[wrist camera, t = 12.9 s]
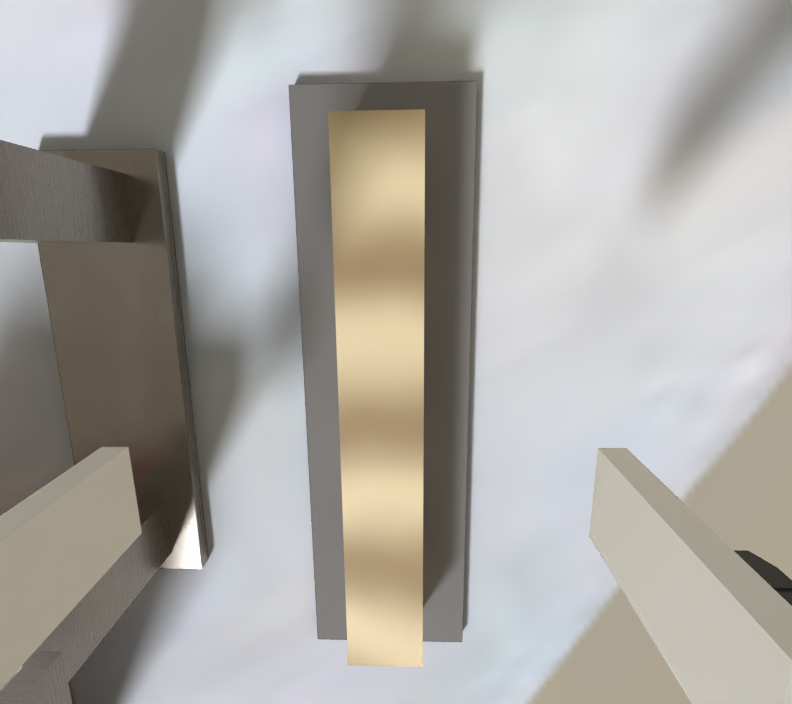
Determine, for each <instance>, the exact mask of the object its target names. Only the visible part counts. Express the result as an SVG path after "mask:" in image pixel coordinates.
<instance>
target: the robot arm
mask: <svg viewBox="0 0 792 704" xmlns="http://www.w3.org/2000/svg"><path fill="white" fill-rule="evenodd" d="M141 533H142V531H141V524H140V518H139V512H138V505H137V499H136V493H135V486H134V480H133V473H132V467H131V461H130V454H129V448H128V447H101V448H99V449H98V450H96V451H95V452H94V453H92V454H91V455H89V456H88V457H86V458H85V459H83V460H82V461H80V462H79V463H77V464H76V465H74V466H73V467H71V468H70V469H68V470H67V471H66V472H64V473H63V474H61V475H60V476H58V477H57V478H55V479H54V480H52V481H51V482H49V483H48V484H46V485H45V486H43V487H42V488H40V489H39V490H37V491H36V492H35V493H33V494H32V495H30V496H29V497H27V498H26V499H24V500H23V501H21V502H20V503H18V504H17V505H15V506H14V507H12V508H11V509H9V510H8V511H7V512H5V513H4V514H2V515H1V516H0V689H1V688H2V687H3V686H4V685H5V683H6V682H7V681H8V680H9V679H10V678H11V677H12V676H13V675H14V674H15V672H16V671H17V670H18V669H19V668H20V667H21V666H22V665H23V664H24V662H25V661H26V660H27V659H28V658H29V657H30V656H31V655H32V654H33V653H34V651H35V650H36V649H37V648H38V647H39V646H40V645H41V644H42V643H43V641H44V640H45V639H46V638H47V637H48V636H49V635H50V634H51V633H52V632H53V630H54V629H55V628H56V627H57V626H58V625H59V624H60V623H61V622H62V621H63V619H64V618H65V617H66V616H67V615H68V614H69V613H70V612H71V611H72V609H73V608H74V607H75V606H76V605H77V604H78V603H79V602H80V601H81V600H82V598H83V597H84V596H85V595H86V594H87V593H88V592H89V591H90V590H91V588H92V587H93V586H94V585H95V584H96V583H97V582H98V581H99V580H100V579H101V577H102V576H103V575H104V574H105V573H106V572H107V571H108V570H109V569H110V568H111V566H112V565H113V564H114V563H115V562H116V561H117V560H118V559H119V558H120V556H121V555H122V554H123V553H124V552H125V551H126V550H127V549H128V548H129V547H130V545H131V544H132V543H133V542H134V541H135V540H136V539H137V538H138V537H139V536H140V534H141ZM589 537H590V538H591V540H592V542H593V543H594V545H595V546H596V548H597V550H598V551H599V553H600V555H601V556H602V558H603V559H604V561H605V563H606V564H607V566H608V568H609V569H610V571H611V573H612V574H613V576H614V577H615V579H616V581H617V582H618V584H619V586H620V587H621V589H622V591H623V592H624V594H625V595H626V597H627V599H628V600H629V602H630V604H631V605H632V607H633V608H634V610H635V612H636V613H637V615H638V617H639V618H640V620H641V622H642V623H643V625H644V626H645V628H646V630H647V631H648V633H649V635H650V636H651V638H652V640H653V641H654V643H655V644H656V646H657V647H658V649H659V651H660V653H661V654H662V656H663V657H664V659H665V661H666V662H667V664H668V666H669V667H670V669H671V671H672V672H673V674H674V675H675V677H676V679H677V680H678V682H679V684H680V685H681V687H682V689H683V690H684V692H685V693H686V695H687V697H688V698H689V700H690V701H691V703H692V704H792V580H791V579H789V578H788V577H787V576H786V575H785V574H784V573H783V572H782V571H780V570H779V569H778V568H777V567H775V566H773V565H772V564H770V563H768V562H767V561H765V560H763V559H761V558H760V557H758V556H756V555H755V554H753V553H751V552H749V551H734V550H732V549H731V548H730V547H729V546H728V545H727V544H726V543H725V542H724V541H723V540H722V539H721V538H720V537H719V536H718V535H717V534H716V533H715V532H714V531H713V530H712V529H710V528H709V527H708V526H707V525H706V524H705V523H704V522H703V521H702V520H701V519H700V518H699V517H698V516H697V515H696V514H695V513H694V512H693V511H692V510H691V509H689V508H688V507H687V506H686V505H685V504H684V503H683V502H682V501H681V500H680V499H679V498H678V497H677V496H676V495H675V494H674V493H673V492H672V491H671V490H670V489H669V488H668V487H666V486H665V485H664V484H663V483H662V482H661V481H660V480H659V479H658V478H657V477H656V476H655V475H654V474H653V473H652V472H651V471H650V470H649V469H648V468H647V467H646V466H644V465H643V464H642V463H641V462H640V461H639V460H638V459H637V458H636V457H635V456H634V455H633V454H632V453H631V452H630V451H629V450H628V449H627V448H598V455H597V465H596V475H595V485H594V494H593V504H592V514H591V524H590V534H589Z"/></svg>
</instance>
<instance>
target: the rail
mask: <svg viewBox="0 0 792 704" xmlns="http://www.w3.org/2000/svg"><path fill="white" fill-rule="evenodd" d="M328 125H329V153H330V180H331V208H332V236H333V263H334V291H335V318H336V346H337V373H338V401H339V429H340V456H341V484H342V511H343V539H344V566H345V594H346V622H347V649H348V665H355V666H401V667H422V664H423V456H424V249H425V109H419V110H366V111H328Z"/></svg>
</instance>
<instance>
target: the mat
mask: <svg viewBox="0 0 792 704" xmlns="http://www.w3.org/2000/svg"><path fill="white" fill-rule="evenodd" d="M289 101H290V120H291V139H292V158H293V177H294V197H295V216H296V235H297V254H298V273H299V292H300V311H301V330H302V349H303V369H304V388H305V407H306V426H307V445H308V464H309V483H310V502H311V521H312V541H313V560H314V579H315V598H316V617H317V636H318V639H331V640H347V622H346V594H345V566H344V539H343V511H342V484H341V456H340V429H339V401H338V373H337V346H336V318H335V291H334V263H333V236H332V208H331V180H330V153H329V125H328V111H366V110H419V109H425V249H424V456H423V641H430V642H462V634H463V597H464V559H465V521H466V483H467V445H468V408H469V370H470V332H471V294H472V256H473V218H474V181H475V143H476V105H477V81H451V82H403V83H355V84H306V85H289Z"/></svg>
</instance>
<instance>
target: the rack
mask: <svg viewBox="0 0 792 704" xmlns="http://www.w3.org/2000/svg"><path fill="white" fill-rule="evenodd" d="M0 242H26V243H38V249H39V255H40V261H41V267H42V273H43V279H44V284H45V290H46V296H47V302H48V308H49V314H50V320H51V326H52V332H53V338H54V344H55V350H56V356H57V362H58V368H59V373H60V379H61V385H62V391H63V397H64V403H65V409H66V415H67V421H68V427H69V433H70V439H71V445H72V451H73V457H74V463H75V465H76V464H77V463H79V462H80V461H82V460H83V459H85V458H86V457H88V456H89V455H91V454H92V453H94V452H95V451H96V450H98V449H99V448H101V447H128V448H129V454H130V461H131V467H132V473H133V480H134V486H135V493H136V499H137V505H138V512H139V518H140V524H141V531H142V533H141V534H140V536H139V537H138V538H137V539H136V540H135V541H134V542H133V543H132V544H131V545H130V547H129V548H128V549H127V550H126V551H125V552H124V553H123V554H122V555H121V556H120V558H119V559H118V560H117V561H116V562H115V563H114V564H113V565H112V566H111V568H110V569H109V570H108V571H107V572H106V573H105V574H104V575H103V576H102V577H101V579H100V580H99V581H98V582H97V583H96V584H95V585H94V586H93V587H92V588H91V590H90V591H89V592H88V593H87V594H86V595H85V596H84V597H83V598H82V600H81V601H80V602H79V603H78V604H77V605H76V606H75V607H74V608H73V609H72V611H71V612H70V613H69V614H68V615H67V616H66V617H65V618H64V619H63V621H62V622H61V623H60V624H59V625H58V626H57V627H56V628H55V629H54V630H53V632H52V633H51V634H50V635H49V636H48V637H47V638H46V639H45V640H44V641H43V643H42V644H41V645H40V646H39V647H38V648H37V649H36V650H35V651H34V653H33V654H32V655H31V656H30V657H29V658H28V659H27V660H26V661H25V662H24V664H23V665H22V666H21V667H20V668H19V669H18V670H17V671H16V672H15V674H14V675H13V676H12V677H11V678H10V679H9V680H8V681H7V682H6V683H5V685H4V686H3V687H2V688H1V689H0V704H72V699H71V694H70V688H69V683H68V682H69V681H70V680H71V679H72V677H73V676H74V675H75V674H76V672H77V671H78V670H79V669H80V667H81V666H82V665H83V664H84V662H85V661H86V660H87V659H88V657H89V656H90V655H91V654H92V652H93V651H94V650H95V648H96V647H97V646H98V645H99V643H100V642H101V641H102V640H103V638H104V637H105V636H106V635H107V633H108V632H109V631H110V630H111V628H112V627H113V626H114V625H115V623H116V622H117V621H118V620H119V618H120V617H121V616H122V614H123V613H124V612H125V611H126V609H127V608H128V607H129V606H130V604H131V603H132V602H133V601H134V599H135V598H136V597H137V596H138V594H139V593H140V592H141V591H142V589H143V588H144V587H145V586H146V584H147V583H148V582H149V581H150V579H151V578H152V577H153V575H154V574H155V573H156V572H157V570H158V569H159V568H171V569H202V568H203V566H204V565H205V563H206V562H207V560H208V553H207V544H206V534H205V525H204V516H203V507H202V497H201V488H200V479H199V469H198V460H197V451H196V441H195V432H194V423H193V413H192V404H191V395H190V385H189V376H188V367H187V357H186V348H185V339H184V329H183V320H182V311H181V301H180V292H179V283H178V273H177V264H176V255H175V245H174V236H173V227H172V217H171V208H170V199H169V190H168V180H167V171H166V162H165V153H164V152H162V151H159V150H157V149H111V150H49V151H39V150H35V149H32V148H28V147H24V146H21V145H17V144H13V143H9V142H6V141H2V140H0Z"/></svg>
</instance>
